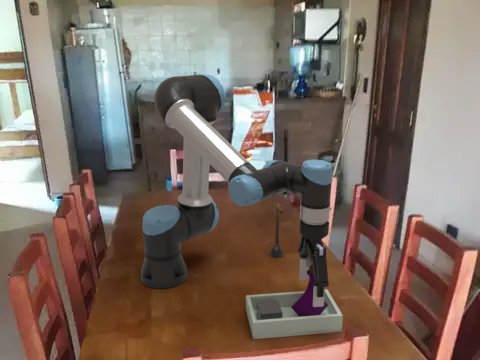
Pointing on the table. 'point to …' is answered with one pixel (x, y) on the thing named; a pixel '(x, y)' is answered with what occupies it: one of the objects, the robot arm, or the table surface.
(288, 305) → the tray
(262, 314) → the block
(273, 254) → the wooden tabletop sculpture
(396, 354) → the table surface
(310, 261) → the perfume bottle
